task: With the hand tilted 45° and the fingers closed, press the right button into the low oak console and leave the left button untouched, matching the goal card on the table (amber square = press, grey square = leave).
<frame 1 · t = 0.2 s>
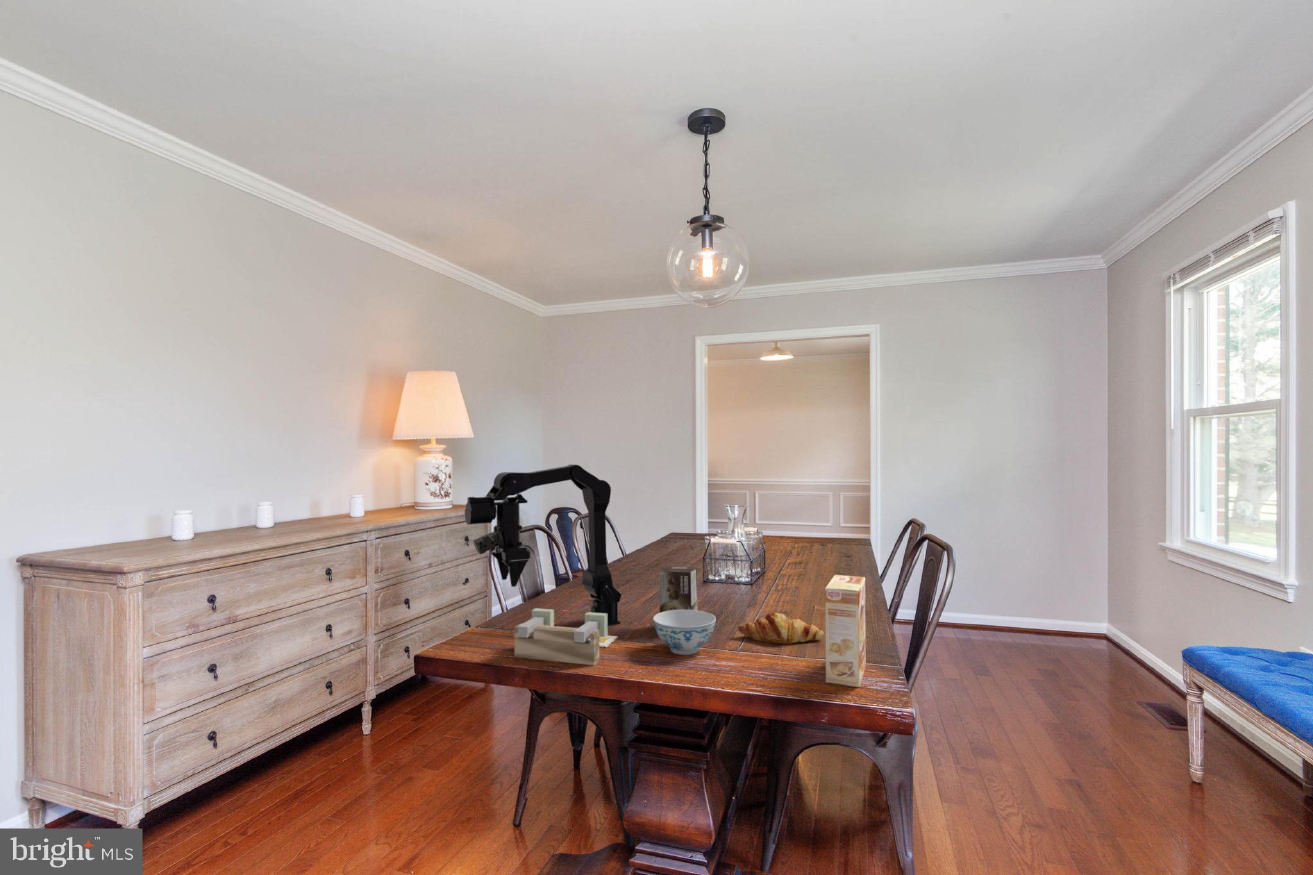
hand: (508, 582, 158), 14 cm above the table, tool pointing down, fingers open, 9 cm apart
button 1: (534, 625, 148), point 7 cm above the table, slide at 0.0 cm
console: (556, 658, 143), on the table
croissant: (780, 640, 157), on the table
button 2: (588, 629, 144), point 6 cm above the table, slide at 0.0 cm
coffee box: (678, 629, 166), on the table
goal card: (589, 640, 157), on the table
coffeecake box: (846, 674, 133), on the table
chinaware: (684, 650, 149), on the table
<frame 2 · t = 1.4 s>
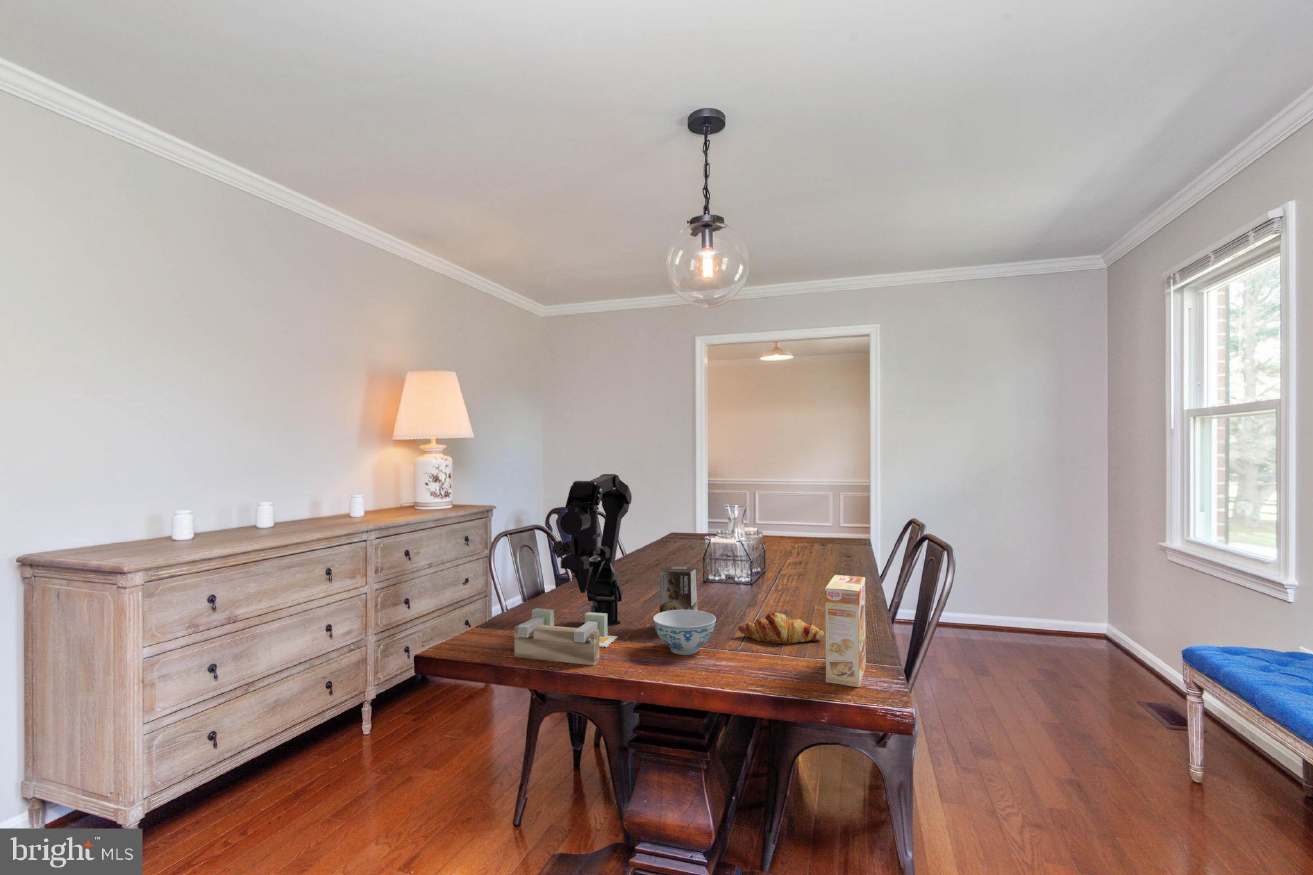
hand: (586, 590, 159), 12 cm above the table, tool pointing down, fingers open, 5 cm apart
nothing on the table moved.
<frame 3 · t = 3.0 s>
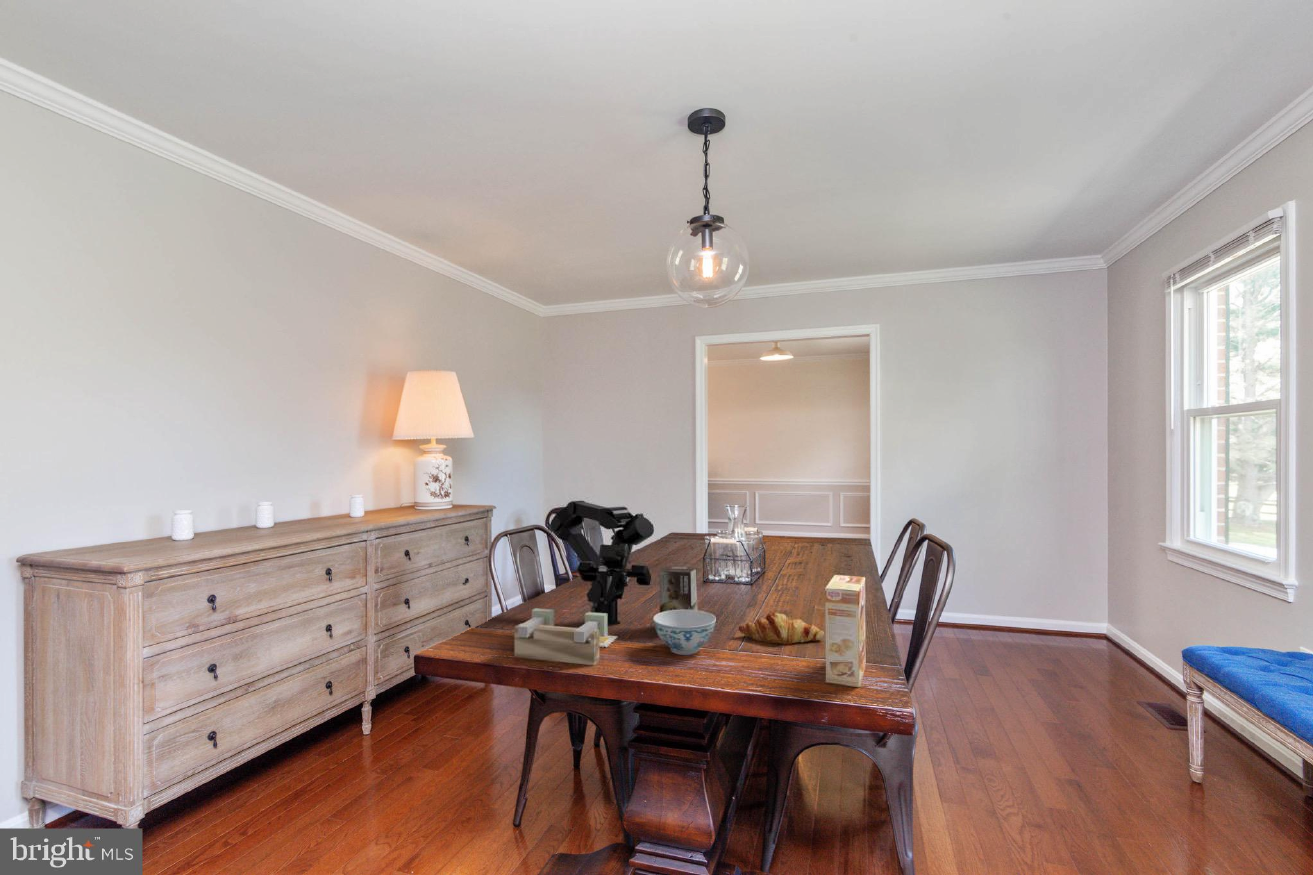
hand: (605, 602, 154), 10 cm above the table, tool tilted 45°, fingers closed
nothing on the table moved.
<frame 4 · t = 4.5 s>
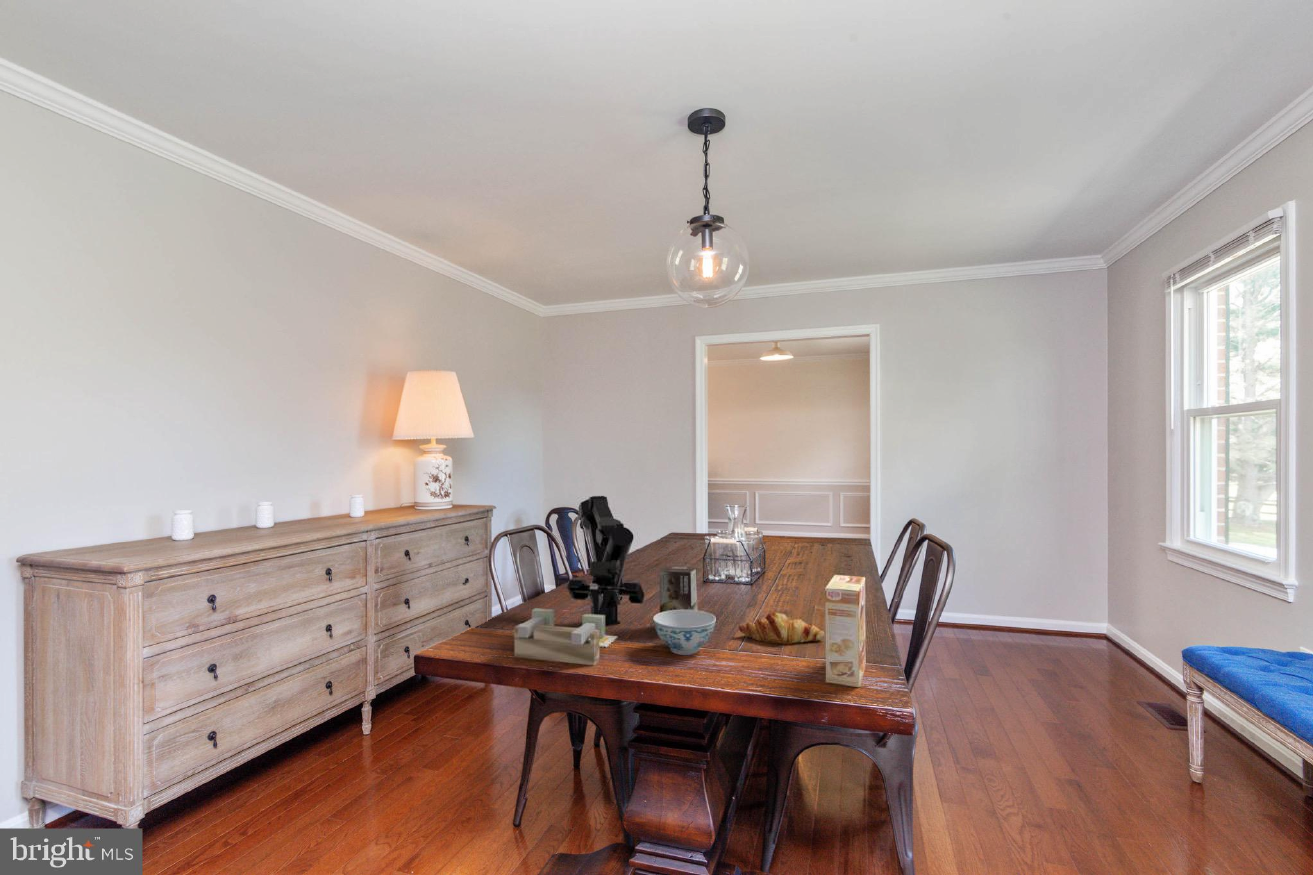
hand: (596, 621, 148), 7 cm above the table, tool tilted 45°, fingers closed, pressing on button 2
button 2: (586, 631, 143), point 6 cm above the table, slide at 1.4 cm, touching gripper
everything else where it was.
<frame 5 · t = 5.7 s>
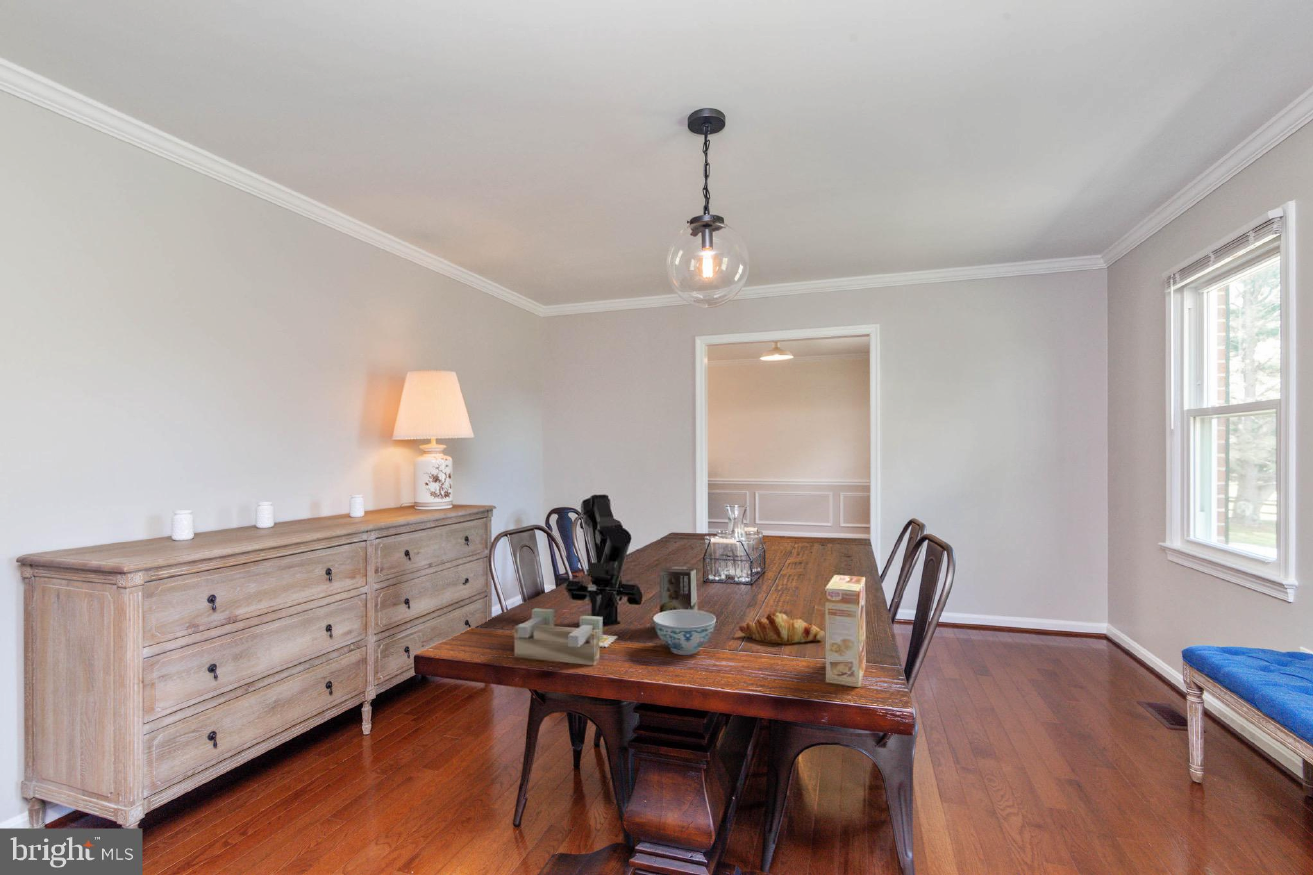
hand: (594, 623, 148), 7 cm above the table, tool tilted 45°, fingers closed
button 2: (583, 633, 141), point 6 cm above the table, slide at 3.1 cm
everything else where it was.
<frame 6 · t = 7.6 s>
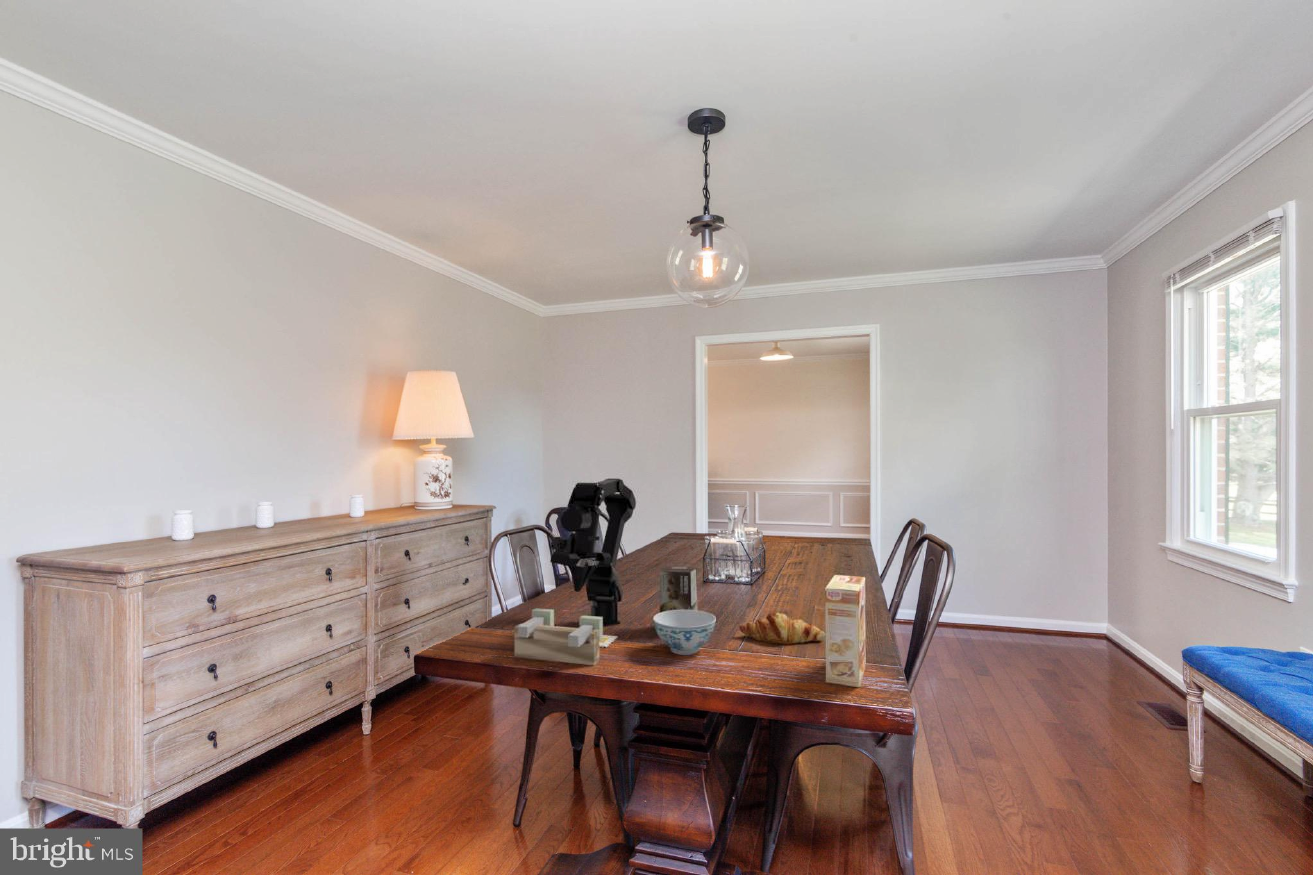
hand: (577, 591, 160), 12 cm above the table, tool pointing down, fingers closed
nothing on the table moved.
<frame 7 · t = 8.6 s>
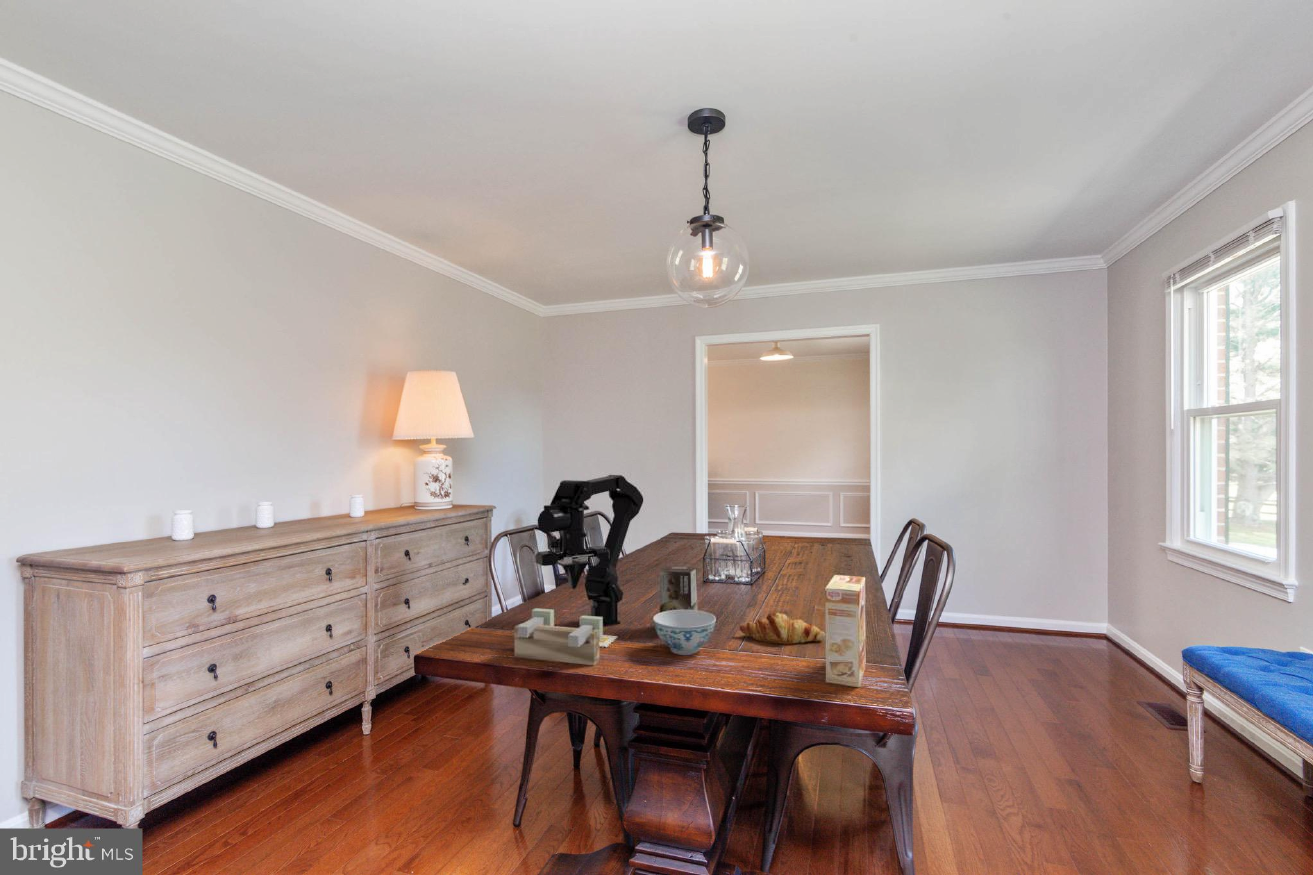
hand: (573, 588, 162), 12 cm above the table, tool pointing down, fingers closed
nothing on the table moved.
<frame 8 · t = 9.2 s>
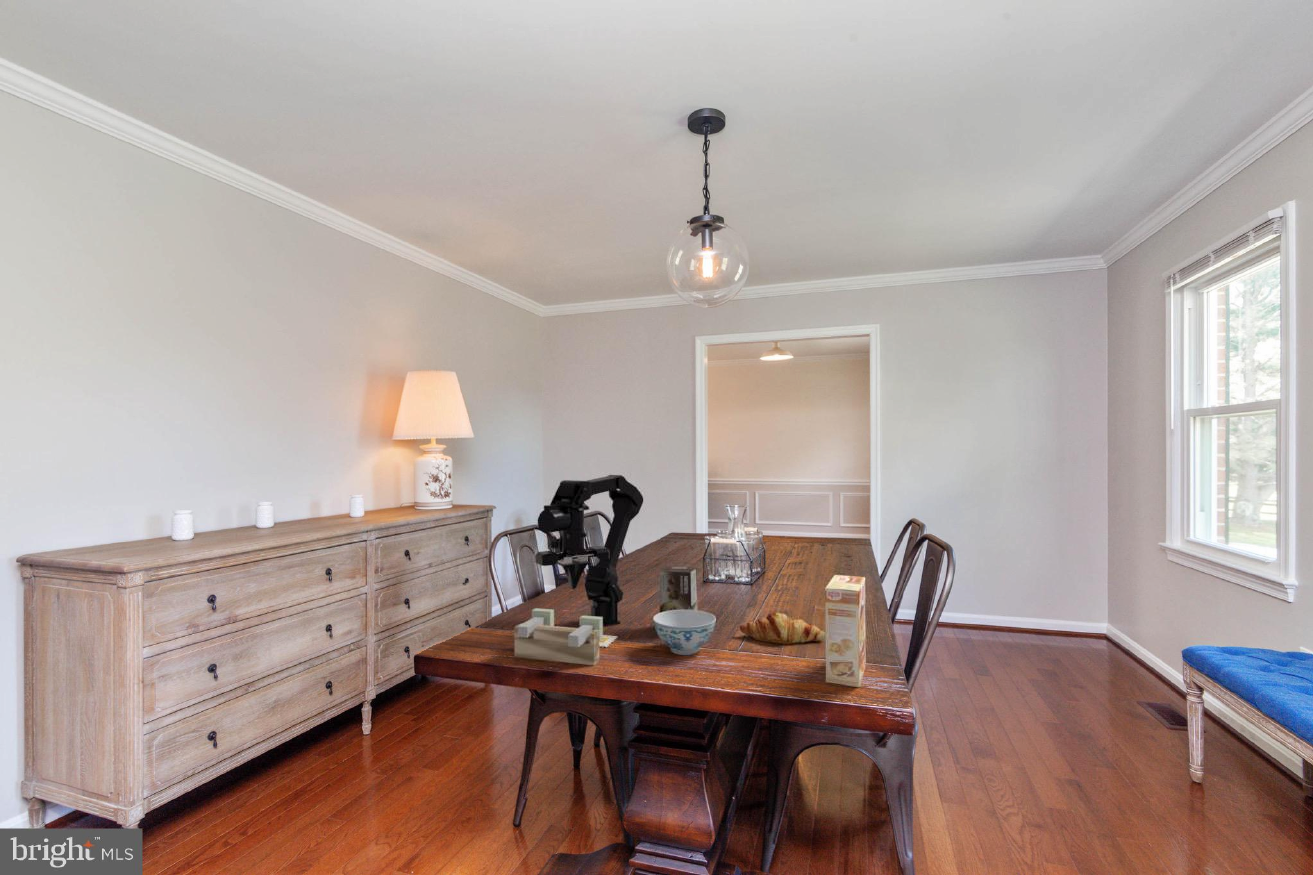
hand: (573, 588, 162), 12 cm above the table, tool pointing down, fingers closed
nothing on the table moved.
at the end: button 2 slide at 3.1 cm; button 1 slide at 0.0 cm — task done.
